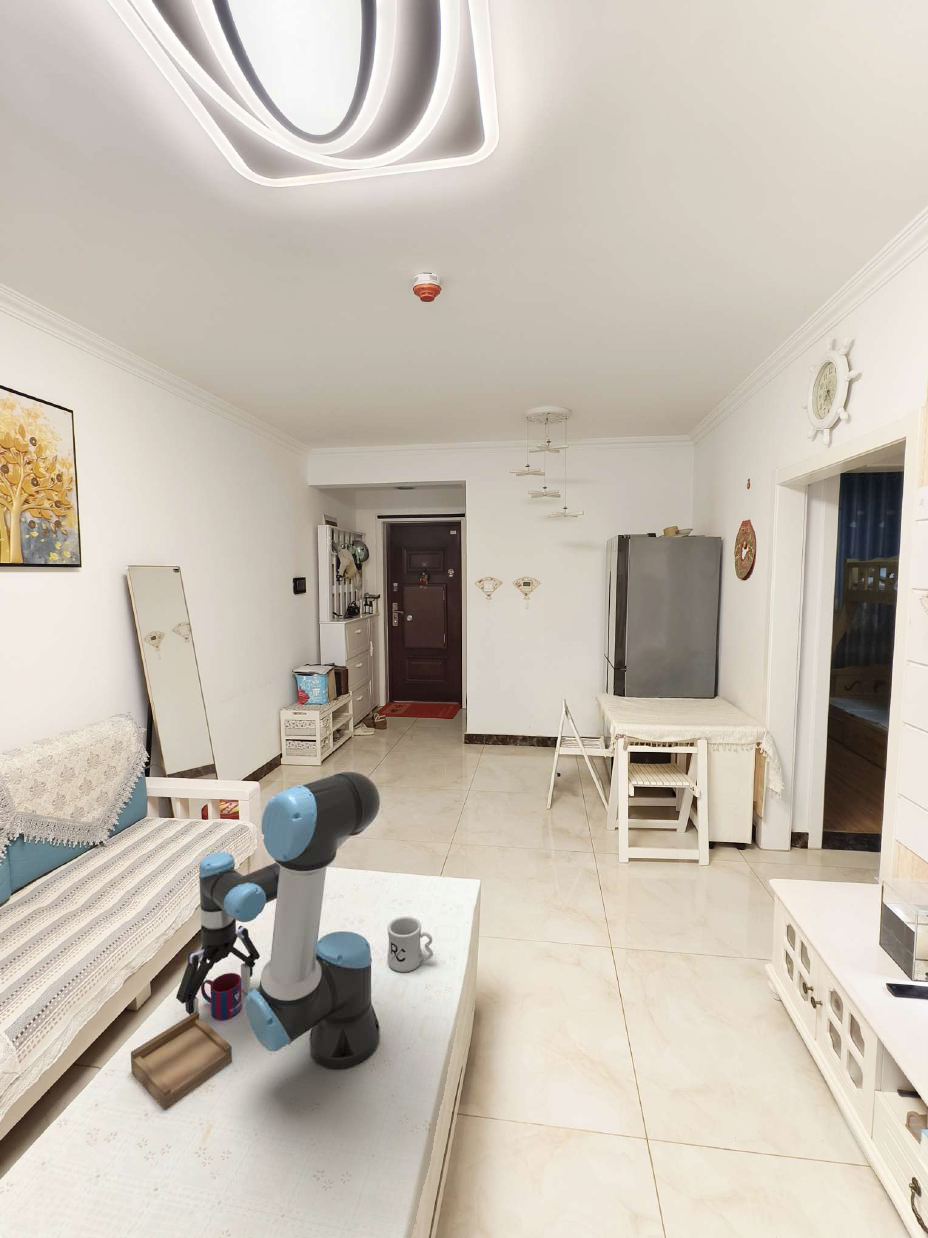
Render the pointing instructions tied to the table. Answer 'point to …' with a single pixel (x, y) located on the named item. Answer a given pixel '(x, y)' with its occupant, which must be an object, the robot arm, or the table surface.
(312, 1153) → the table surface
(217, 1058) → the tan flat rimmed tray
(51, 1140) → the table surface
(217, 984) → the cup
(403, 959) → the mug
